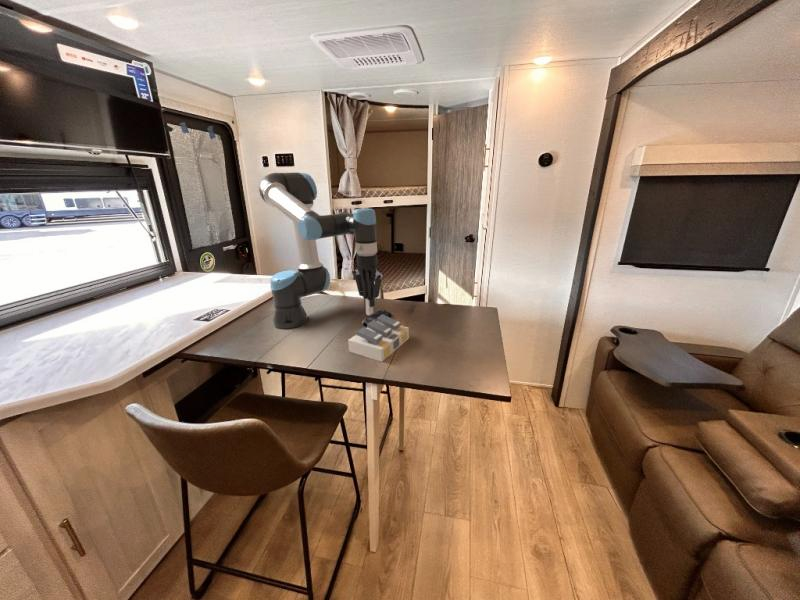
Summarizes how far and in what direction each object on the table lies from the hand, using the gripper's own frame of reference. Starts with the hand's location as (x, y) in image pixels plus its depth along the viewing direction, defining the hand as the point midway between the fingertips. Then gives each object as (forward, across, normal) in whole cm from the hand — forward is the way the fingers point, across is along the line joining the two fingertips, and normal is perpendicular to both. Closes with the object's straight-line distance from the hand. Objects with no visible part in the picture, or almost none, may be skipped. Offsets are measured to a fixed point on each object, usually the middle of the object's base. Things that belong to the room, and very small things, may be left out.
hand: (369, 313), depth 120 cm
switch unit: (+13, +4, 0) cm, 13 cm away
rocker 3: (+6, +4, +7) cm, 10 cm away
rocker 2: (+6, +4, 0) cm, 7 cm away
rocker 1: (+6, +4, -6) cm, 10 cm away
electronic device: (+14, -10, +17) cm, 24 cm away
